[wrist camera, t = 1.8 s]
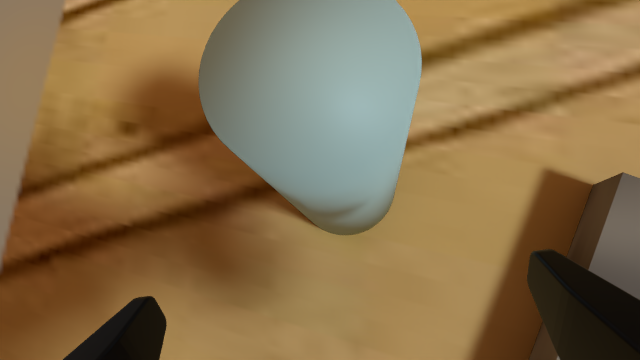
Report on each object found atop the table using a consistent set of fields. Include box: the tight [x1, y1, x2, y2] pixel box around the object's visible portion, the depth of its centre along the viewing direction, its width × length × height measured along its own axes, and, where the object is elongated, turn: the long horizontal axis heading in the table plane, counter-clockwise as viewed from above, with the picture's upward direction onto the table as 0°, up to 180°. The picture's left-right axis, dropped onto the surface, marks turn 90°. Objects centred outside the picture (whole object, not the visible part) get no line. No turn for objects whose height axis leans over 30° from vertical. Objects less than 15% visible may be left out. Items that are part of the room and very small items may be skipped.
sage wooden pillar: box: [199, 0, 422, 235], centre depth 16 cm, size 6×6×13 cm
